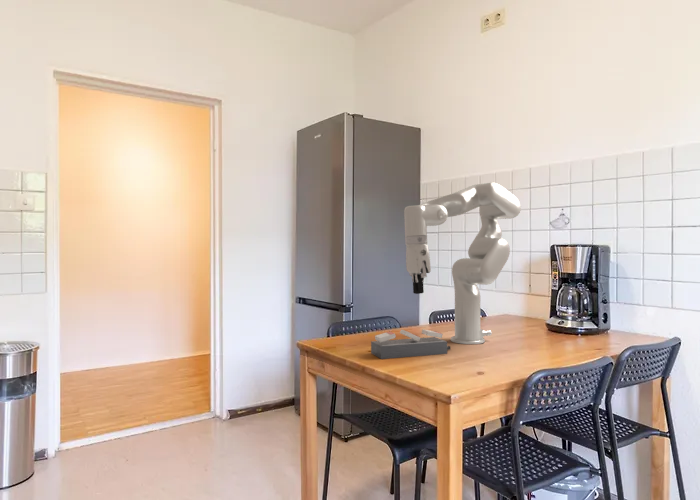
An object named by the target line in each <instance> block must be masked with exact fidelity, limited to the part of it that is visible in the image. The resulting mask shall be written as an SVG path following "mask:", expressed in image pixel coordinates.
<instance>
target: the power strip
mask: <svg viewBox="0 0 700 500" xmlns="http://www.w3.org/2000/svg"><path fill="white" fill-rule="evenodd" d="M448 350H449V351H450V350H451V346H450V345H448V341H446V340H444V339H442V338H439V337H433V336H427V337H420V340H419V341H416V340H414V339H412V338H402V339H390V340H387V341H383V342H379V341H377V340H374V341H372V340H371V341H370V354H371V355H374V356H376V357H377V358H378V359H380V360H386V359H398V358H399V359H400V358H411V357H422V356H434V355H447V354H448Z"/></svg>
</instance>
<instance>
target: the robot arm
mask: <svg viewBox="0 0 700 500" xmlns="http://www.w3.org/2000/svg"><path fill="white" fill-rule="evenodd" d="M521 207H522V206H521V202H520V201H519V199H518V197H517V196H515V194H513V193H511V192H510V191H509V190H507V189H506V188H505V187H504V186H502V185H501V184H498V183H496V182H487V183H477V184H474V185H471V186H468V187H466V188H463V189H461V190H458V191H456V192H453V193H450V194H447V195H443V196H441V197H438V198H434V199H431V200H428V201H426V202H423V203H421V204H418V205H407V206H406V207H404V211H403V215H404V216H403V218H404V235H405V236H404V237H405V246H406V248H405V249H406V250H405V251H406V254H405V266H406V271H407V272H408V274H409V276H410V277H411V280H412V281H411V282H412V288H413V289H412V290H413V291H412V293H413V294H415V295H419V294H420V295H421V294H423V293H424V289H425V288H424V281H425V280H424V279H425V278H427V277H428V276H427V274H430V272H431V271H432V270H431V269H432V268H431V259H430V258H431V257H430V251H429V250H430V249H429V246H428V235H427V234H428V231H427V228H428V227H431V226H432V227H434V226H441V225H443V224H444V223H446V222H447V220H448V218H451V217H457V216H461V215H463V214H467V213H468V212H470V211H472V210H475V209H476V208H479V210H478V212H479V216H480V220H481V227H480V229H479V231H478V233H477V234H476V236H475V237H474V239H473V241H472V242H471V244H470V245H469V247H468V251H467V254H468V258H467V257H464V258H459V259H457V260H456V261H455V262H454V263H453V265H452V267H451V274H452V281H453V287H454V335H452V336H451V337H450V341H451V342H453V343H456V344H461V345H480V344H483V343H485V340H486V339H485V338H484V337H485V336H487V337H488V336H492V334H493V333H492V331H491V330H489V329H488V330H483V329H482V328H481V293H480V290H479V287H478V285H483V286H484V285H485V286H487V285H488V286H489V285H491V284H492V283H494V282H495V281H496V279H497V278H498V277H499V275H500V274H501V272H502V270H503V268H504V266H505V265H506V264H507V261H508V260H509V257H510V253H511V252H510V250H511V249H510V245H509V242H508V241H507V240H506V239H504V238H502V236H503V232H502V228H501V226H500V224H499V220H506V219H507V220H508V219H514V218H516V217H517V216H519V214H520V213H521V209H522V208H521Z"/></svg>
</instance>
